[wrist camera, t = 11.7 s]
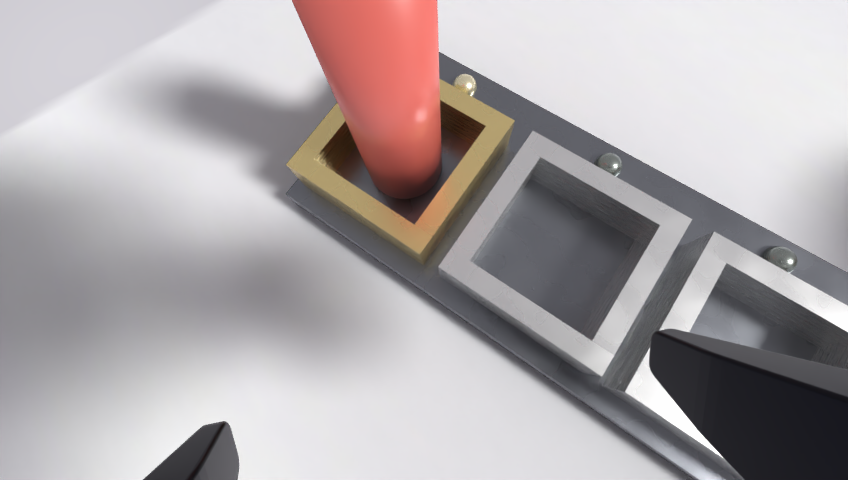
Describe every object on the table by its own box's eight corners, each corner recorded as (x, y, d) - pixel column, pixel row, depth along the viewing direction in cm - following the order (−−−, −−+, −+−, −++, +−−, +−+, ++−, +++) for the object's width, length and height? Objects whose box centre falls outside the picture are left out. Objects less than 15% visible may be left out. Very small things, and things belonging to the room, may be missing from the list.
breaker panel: (853, 296, 20) (949, 285, 16) (750, 518, 18) (833, 565, 14) (414, 55, 25) (408, 3, 21) (296, 203, 23) (265, 175, 19)
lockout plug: (453, 181, 21) (463, -59, 9) (384, 210, 21) (293, 7, 9) (424, 121, 22) (394, -169, 10) (358, 148, 22) (242, -113, 10)
